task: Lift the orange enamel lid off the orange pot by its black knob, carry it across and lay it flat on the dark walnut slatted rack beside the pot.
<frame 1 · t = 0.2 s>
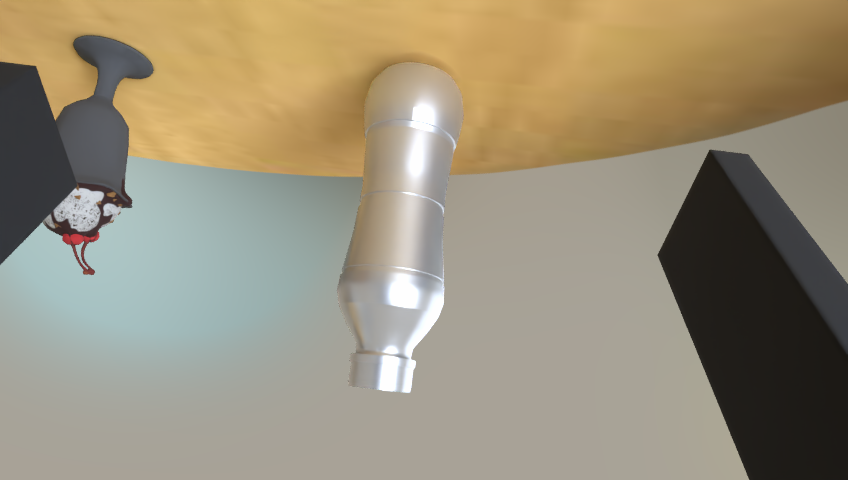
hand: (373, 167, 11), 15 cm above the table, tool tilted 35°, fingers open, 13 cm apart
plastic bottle: (418, 74, 37), on the table
sundae: (116, 54, 38), on the table
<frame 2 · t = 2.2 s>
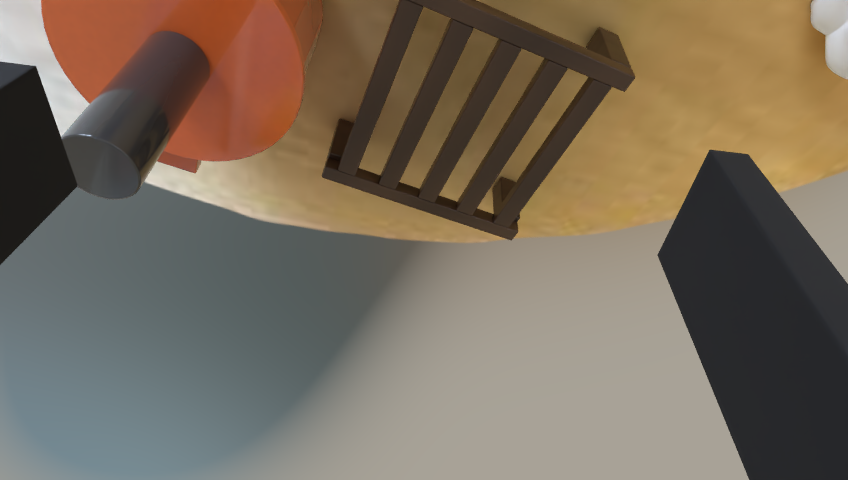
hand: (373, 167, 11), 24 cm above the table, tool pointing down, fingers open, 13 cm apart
lid: (181, 55, 28), point 7 cm above the table, touching pot
rack: (464, 88, 37), on the table
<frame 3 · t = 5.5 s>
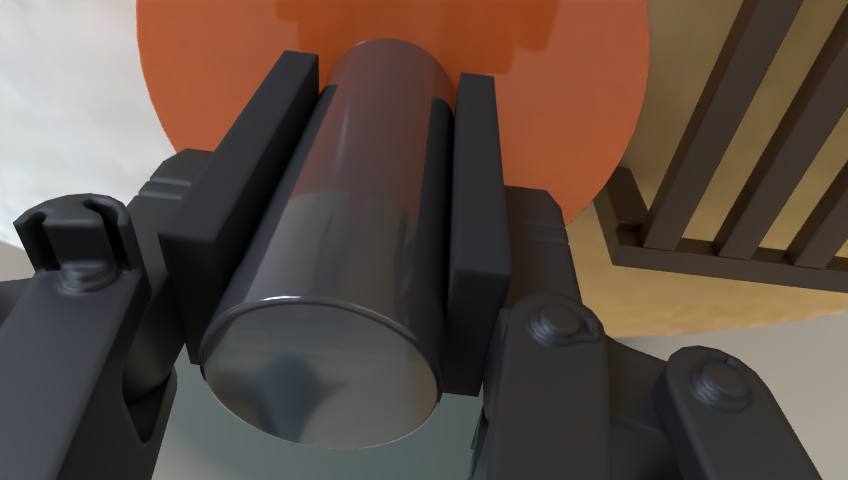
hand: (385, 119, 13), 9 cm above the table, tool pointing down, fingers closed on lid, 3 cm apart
lid: (392, 91, 14), point 8 cm above the table, touching gripper, pot
rack: (832, 57, 20), on the table
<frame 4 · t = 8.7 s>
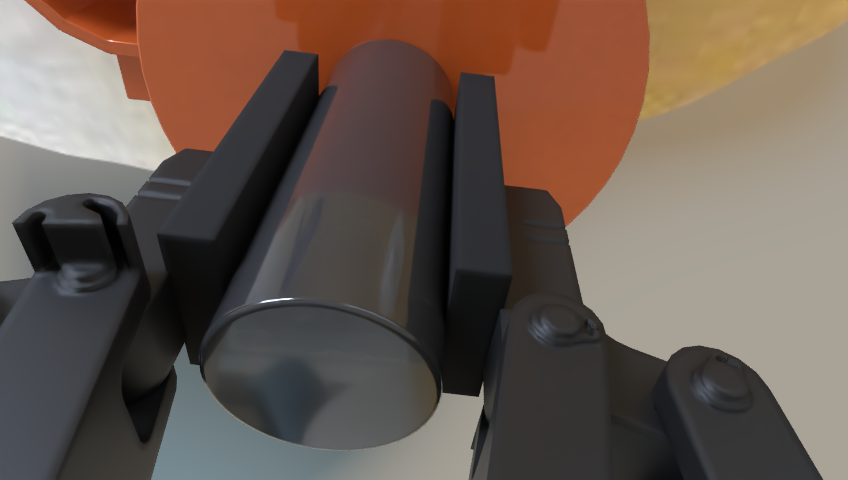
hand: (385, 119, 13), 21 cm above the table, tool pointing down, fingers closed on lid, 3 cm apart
lid: (392, 92, 14), point 20 cm above the table, touching gripper
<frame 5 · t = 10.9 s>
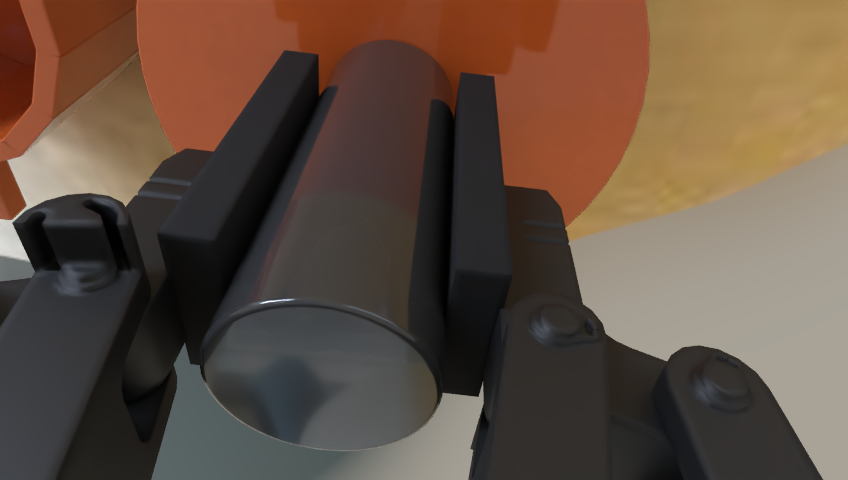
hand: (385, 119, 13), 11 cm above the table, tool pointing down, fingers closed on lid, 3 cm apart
lid: (392, 92, 14), point 9 cm above the table, touching gripper
when the fingers open (7 cm above the table, at t = 12.0 s): lid stays where it is, resting on rack.
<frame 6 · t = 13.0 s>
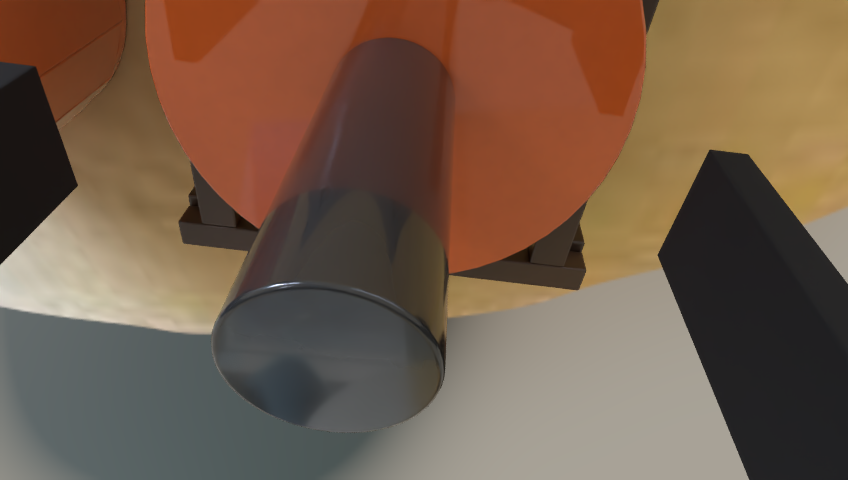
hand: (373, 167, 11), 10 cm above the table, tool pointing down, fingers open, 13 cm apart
lid: (394, 89, 15), point 6 cm above the table, touching rack
rack: (411, 18, 19), on the table
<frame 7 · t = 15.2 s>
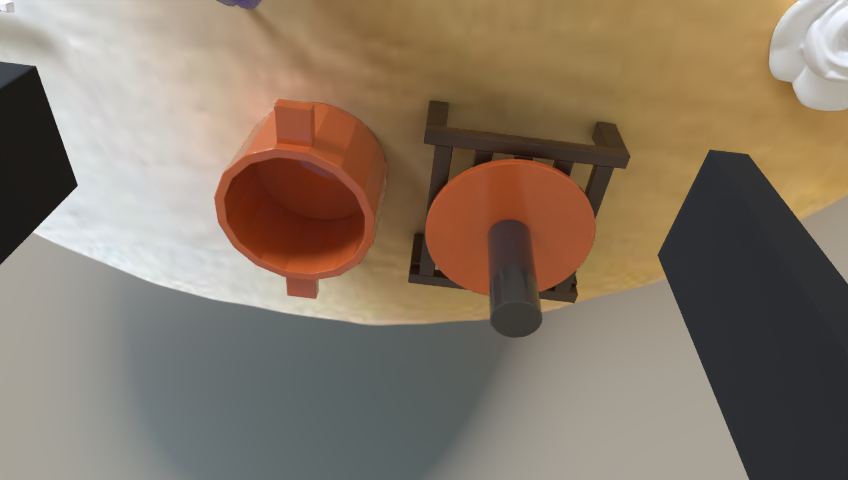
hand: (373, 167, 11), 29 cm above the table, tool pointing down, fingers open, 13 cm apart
lid: (508, 231, 41), point 6 cm above the table, touching rack
rack: (504, 190, 46), on the table
pot: (318, 166, 46), on the table
rose: (844, 28, 36), on the table
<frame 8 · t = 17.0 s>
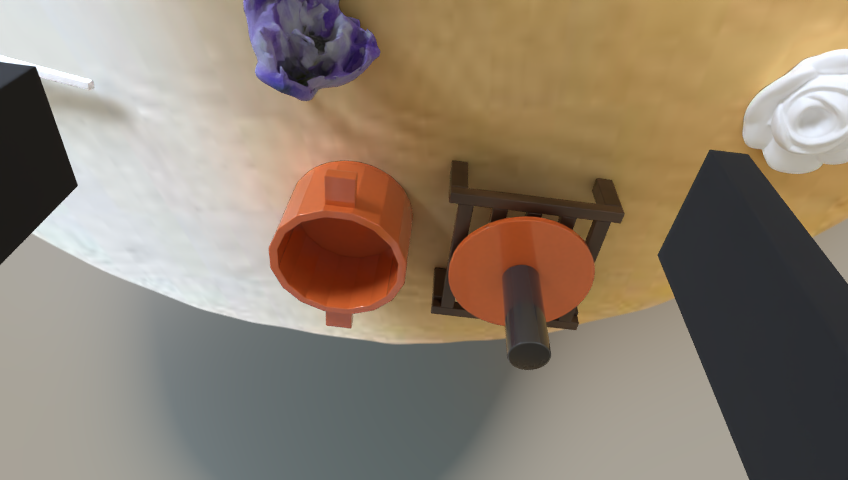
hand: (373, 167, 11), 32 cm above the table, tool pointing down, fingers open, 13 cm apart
lid: (520, 273, 48), point 6 cm above the table, touching rack
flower: (317, 32, 42), on the table
rack: (515, 232, 52), on the table
pot: (352, 213, 52), on the table
rose: (805, 106, 43), on the table
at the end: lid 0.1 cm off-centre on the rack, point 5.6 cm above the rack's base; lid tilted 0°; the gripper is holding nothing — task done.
